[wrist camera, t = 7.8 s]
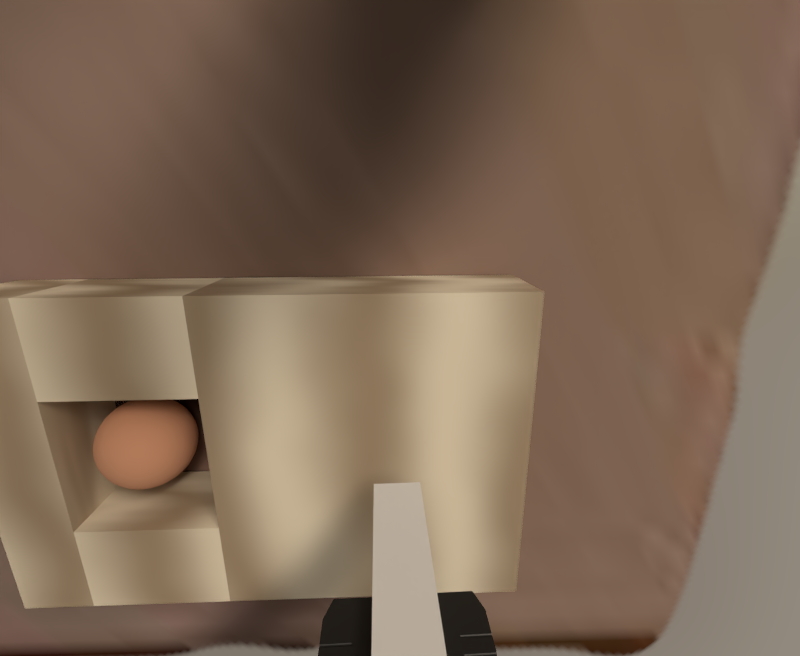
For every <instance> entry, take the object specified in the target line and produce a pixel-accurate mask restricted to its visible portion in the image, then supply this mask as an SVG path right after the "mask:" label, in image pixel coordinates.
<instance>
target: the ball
mask: <svg viewBox="0 0 800 656" xmlns="http://www.w3.org/2000/svg"><path fill="white" fill-rule="evenodd" d="M198 438H199V435H198V428H197V424H196V421H195V419H194V417H193V416H192V414H191V413H190V412H189V411H188V409H187V408H185V407H184V406H183V405H182V404H180V403H178V402H177V401H174V400H131V401H128V402H126V403H124V404H122V405H121V406H119V407H117V408H116V409H115V410H113V411H112V412H111V413H110V414H109V415H108V416H107V417H106V418H105V419H104V421H103V422H102V423H101V425H100V426H99V428H98V430H97V432H96V435H95V438H94V442H93V456H94V460H95V463H96V466H97V468H98V469H99V471H100V472H101V474H102V475H103V476H104V477H105V478H106V479H107V480H109V481H110V482H112V483H113V484H116V485H118V486H120V487H123V488H127V489H137V490H140V489H149V488H154V487H157V486H160V485H163V484H165V483H167V482H169V481H171V480H172V479H174V478H175V477H177V476H178V475H179V474H180V473H181V472H182V471H183V470H184V469H185V468H186V467H187V466H188V465H189V463H190V462H191V460H192V458H193V456H194V454H195V452H196V449H197V445H198Z"/></svg>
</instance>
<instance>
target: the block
mask: <svg viewBox="0 0 800 656" xmlns="http://www.w3.org/2000/svg"><path fill="white" fill-rule="evenodd" d="M543 302H544V291H542V290H540V289H538V288H536V287H534V286H532V285H531V284H529V283H527V282H525V281H523V280H521V279H519V278H517V277H515V276H513V275H445V276H353V277H261V278H169V279H77V280H17V281H11V282H6V283H1V284H0V537H1V540H2V543H3V546H4V548H5V551H6V554H7V557H8V560H9V563H10V566H11V569H12V572H13V575H14V578H15V581H16V584H17V586H18V589H19V592H20V595H21V598H22V601H23V604H24V607H25V608H50V607H79V606H107V605H136V604H164V603H193V602H222V601H250V600H279V599H307V598H336V597H365V596H372V578H373V506H374V484H385V483H412V482H420V484H421V491H422V497H423V504H424V510H425V517H426V523H427V530H428V536H429V543H430V550H431V556H432V563H433V569H434V576H435V582H436V589H437V593H442V592H462V591H472V592H473V593H479V592H508V591H516V587H517V576H518V566H519V555H520V544H521V534H522V523H523V513H524V502H525V492H526V481H527V471H528V460H529V450H530V439H531V429H532V418H533V408H534V397H535V387H536V376H537V365H538V355H539V344H540V334H541V323H542V313H543ZM172 399H198V400H199V406H200V413H201V419H202V425H203V432H204V438H205V444H206V451H207V457H208V463H209V470H210V471H196V472H181V473H180V474H179V475H178V476H177V477H175V478H174V479H172V480H171V481H169V482H167V483H165V484H163V485H160V486H157V487H154V488H149V489H140V490H137V489H127V488H123V487H120V486H118V485H116V484H113V483H112V482H110V481H109V480H107V479H106V478H105V477H104V476H103V475H102V474H101V472H100V471H99V469H98V468H97V466H96V463H95V460H94V456H93V442H94V438H95V435H96V432H97V430H98V428H99V426H100V425H101V423H102V422H103V421H104V419H105V418H106V417H107V416H108V415H109V414H110V413H111V412H112V411H113V410H115V409H116V404H115V401H121V400H172Z"/></svg>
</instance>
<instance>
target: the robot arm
mask: <svg viewBox="0 0 800 656" xmlns="http://www.w3.org/2000/svg"><path fill="white" fill-rule="evenodd" d="M318 656H497V654H496V648H495V645H494V641H493V637H492V635H491V630H490V626H489V622H488V618H487V615H486V611H485V609H484V607H483V606H482V604H481V603H480V602H479V600H478V599H477V597H476V596H475V594H474V593H473V592H472V591H462V592H442V593H437V589H436V582H435V576H434V569H433V563H432V556H431V550H430V543H429V536H428V530H427V523H426V517H425V510H424V504H423V497H422V491H421V484H420V482H412V483H385V484H374V506H373V578H372V597H368V598H349V599H334V600H333V602H332V603H331V605H330V607H329V609H328V611H327V613H326V615H325V616H324V618H323V622H322V630H321V637H320V647H319V652H318Z"/></svg>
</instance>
